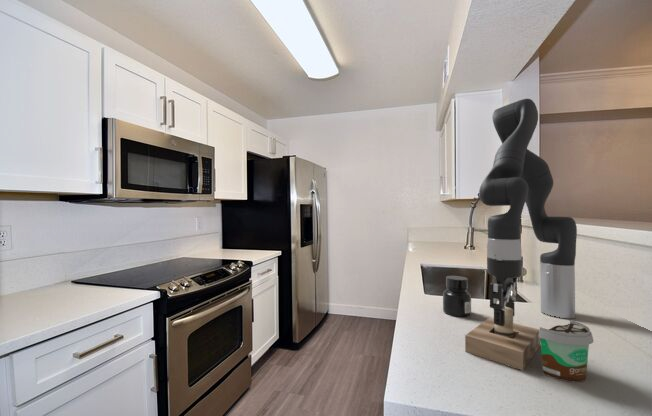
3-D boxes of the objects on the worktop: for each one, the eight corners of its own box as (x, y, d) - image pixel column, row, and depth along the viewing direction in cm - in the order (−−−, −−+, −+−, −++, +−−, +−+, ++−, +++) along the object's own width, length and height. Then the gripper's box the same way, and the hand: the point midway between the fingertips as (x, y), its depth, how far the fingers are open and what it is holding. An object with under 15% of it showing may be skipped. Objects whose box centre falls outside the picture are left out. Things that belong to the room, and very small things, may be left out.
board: (489, 331, 83) (489, 317, 84) (540, 345, 75) (540, 329, 75) (465, 351, 71) (465, 335, 71) (522, 370, 62) (522, 352, 62)
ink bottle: (474, 319, 93) (474, 281, 94) (445, 316, 95) (445, 280, 96) (467, 309, 103) (467, 275, 103) (441, 307, 105) (441, 274, 105)
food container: (573, 391, 55) (572, 339, 56) (538, 374, 61) (538, 327, 61) (606, 377, 60) (606, 329, 60) (572, 363, 66) (571, 319, 66)
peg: (497, 343, 76) (497, 304, 76) (515, 348, 73) (515, 308, 73) (492, 348, 73) (492, 308, 73) (510, 353, 70) (510, 312, 70)
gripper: (496, 252, 81) (496, 310, 81) (477, 257, 71) (478, 323, 71) (528, 255, 76) (528, 317, 75) (513, 261, 66) (514, 333, 65)
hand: (504, 320), depth 73 cm, fingers open, 8 cm apart
